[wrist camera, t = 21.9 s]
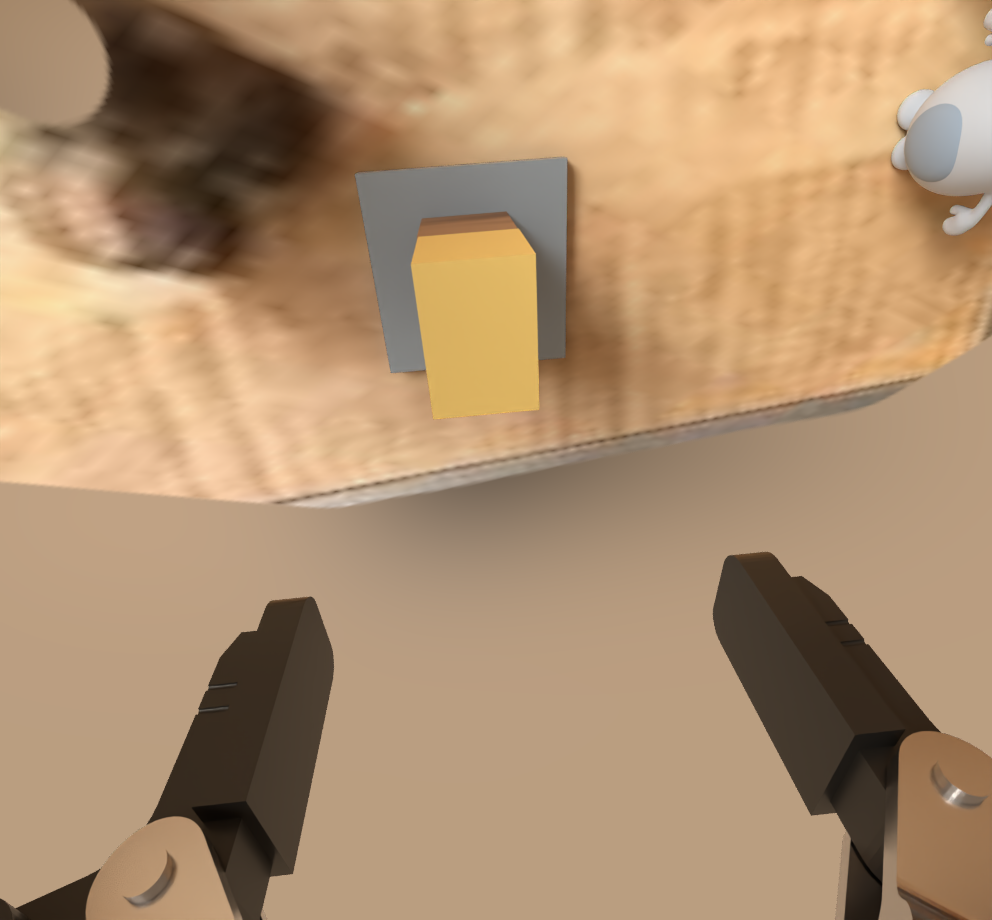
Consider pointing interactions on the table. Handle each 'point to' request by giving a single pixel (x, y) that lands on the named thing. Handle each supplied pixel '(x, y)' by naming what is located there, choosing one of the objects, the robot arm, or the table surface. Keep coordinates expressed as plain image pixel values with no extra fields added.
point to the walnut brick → (465, 224)
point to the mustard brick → (478, 322)
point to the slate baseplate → (462, 191)
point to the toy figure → (951, 140)
